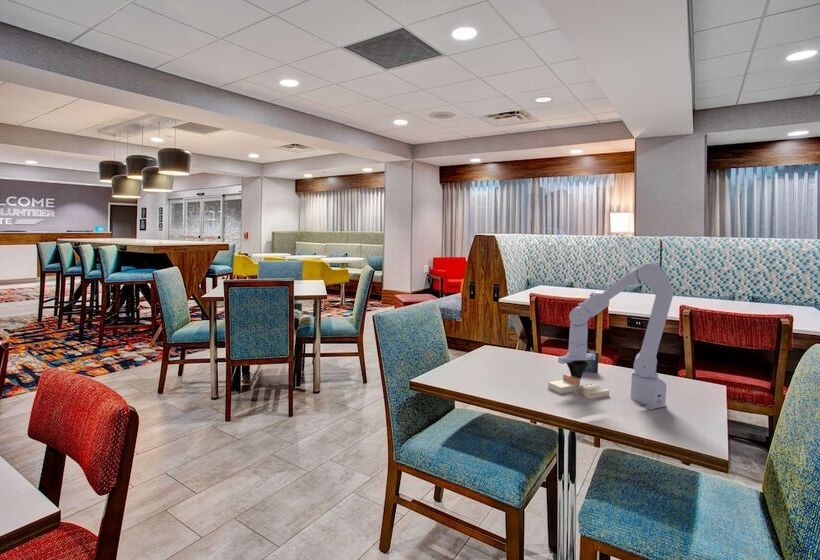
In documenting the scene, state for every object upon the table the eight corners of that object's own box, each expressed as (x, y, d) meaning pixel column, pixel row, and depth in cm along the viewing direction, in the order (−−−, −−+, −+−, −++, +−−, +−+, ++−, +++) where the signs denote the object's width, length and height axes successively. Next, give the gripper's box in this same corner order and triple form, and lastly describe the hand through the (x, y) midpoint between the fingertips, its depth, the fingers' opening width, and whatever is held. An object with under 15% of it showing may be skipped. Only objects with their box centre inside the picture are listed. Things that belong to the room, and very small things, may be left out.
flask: (571, 373, 175) (572, 345, 174) (572, 371, 177) (573, 344, 176) (597, 376, 171) (599, 348, 170) (597, 374, 173) (599, 346, 172)
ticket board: (616, 399, 146) (616, 390, 146) (568, 408, 138) (568, 398, 138) (578, 384, 161) (578, 376, 160) (533, 391, 152) (533, 382, 152)
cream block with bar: (579, 390, 151) (580, 378, 151) (560, 393, 148) (561, 381, 147) (566, 385, 156) (566, 373, 156) (547, 387, 153) (548, 376, 153)
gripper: (585, 338, 159) (583, 376, 161) (552, 341, 153) (550, 381, 155) (601, 342, 153) (598, 382, 154) (568, 346, 147) (565, 387, 148)
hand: (575, 382), depth 154 cm, fingers closed
